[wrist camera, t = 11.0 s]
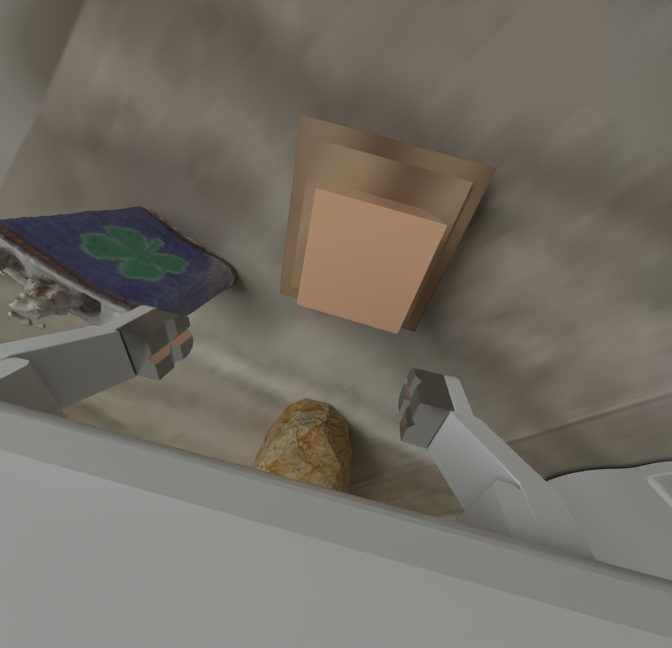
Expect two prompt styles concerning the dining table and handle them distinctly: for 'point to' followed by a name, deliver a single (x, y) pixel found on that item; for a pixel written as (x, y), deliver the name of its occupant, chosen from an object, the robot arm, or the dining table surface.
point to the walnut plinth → (381, 192)
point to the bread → (309, 446)
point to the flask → (107, 265)
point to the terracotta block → (366, 256)
